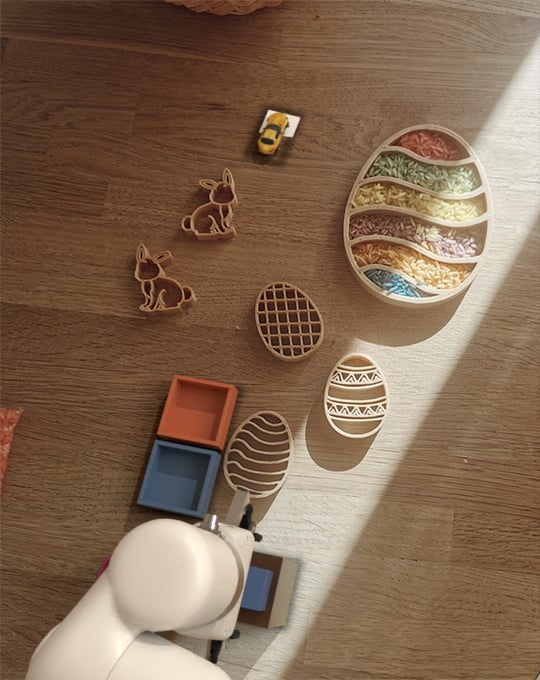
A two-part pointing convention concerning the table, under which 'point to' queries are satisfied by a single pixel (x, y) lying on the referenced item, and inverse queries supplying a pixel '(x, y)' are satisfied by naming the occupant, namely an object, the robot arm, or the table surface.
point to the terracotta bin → (198, 412)
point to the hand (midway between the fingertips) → (237, 582)
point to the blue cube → (256, 589)
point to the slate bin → (179, 479)
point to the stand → (272, 592)
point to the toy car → (276, 131)
